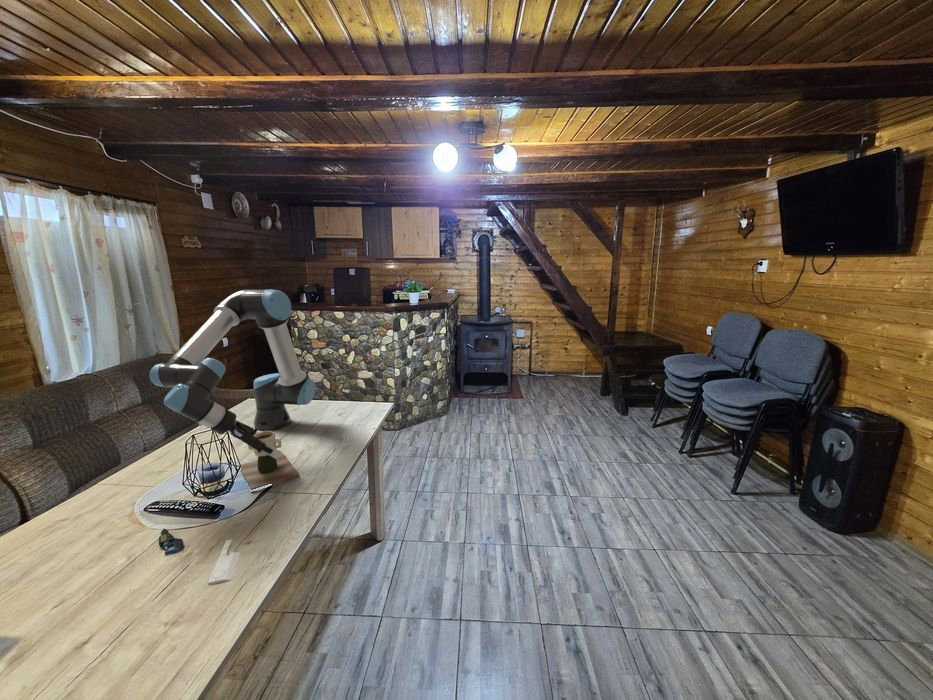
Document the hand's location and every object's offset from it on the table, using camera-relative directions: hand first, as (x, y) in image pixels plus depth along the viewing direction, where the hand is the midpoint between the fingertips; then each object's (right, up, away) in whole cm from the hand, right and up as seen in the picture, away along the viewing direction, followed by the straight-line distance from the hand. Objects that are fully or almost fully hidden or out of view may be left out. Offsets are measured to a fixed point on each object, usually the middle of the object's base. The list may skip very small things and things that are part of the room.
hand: (274, 449), depth 140 cm
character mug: (-2, -7, 0) cm, 7 cm away
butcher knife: (+9, -18, -41) cm, 46 cm away
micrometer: (-11, -16, -34) cm, 40 cm away
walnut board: (-2, -8, 0) cm, 9 cm away
